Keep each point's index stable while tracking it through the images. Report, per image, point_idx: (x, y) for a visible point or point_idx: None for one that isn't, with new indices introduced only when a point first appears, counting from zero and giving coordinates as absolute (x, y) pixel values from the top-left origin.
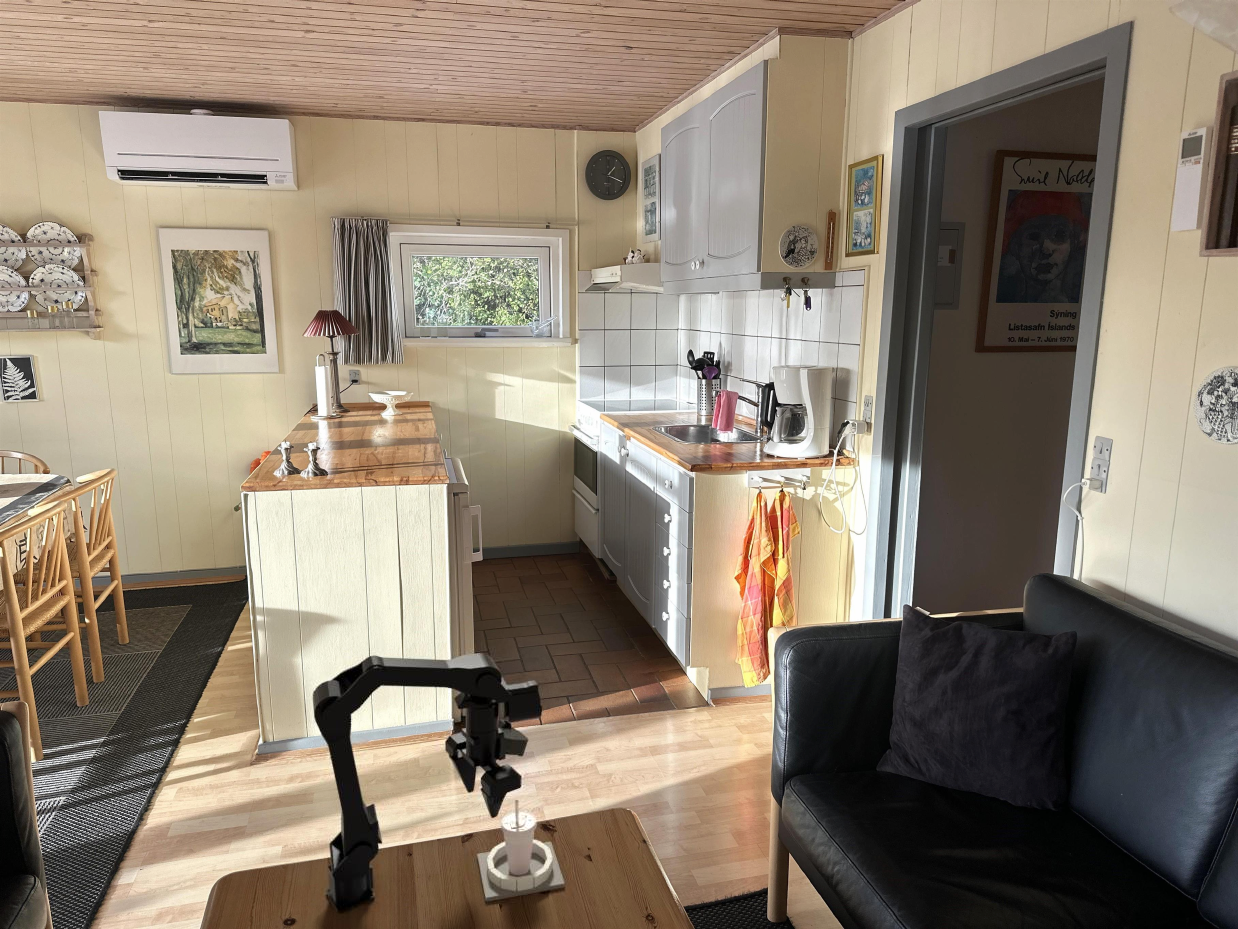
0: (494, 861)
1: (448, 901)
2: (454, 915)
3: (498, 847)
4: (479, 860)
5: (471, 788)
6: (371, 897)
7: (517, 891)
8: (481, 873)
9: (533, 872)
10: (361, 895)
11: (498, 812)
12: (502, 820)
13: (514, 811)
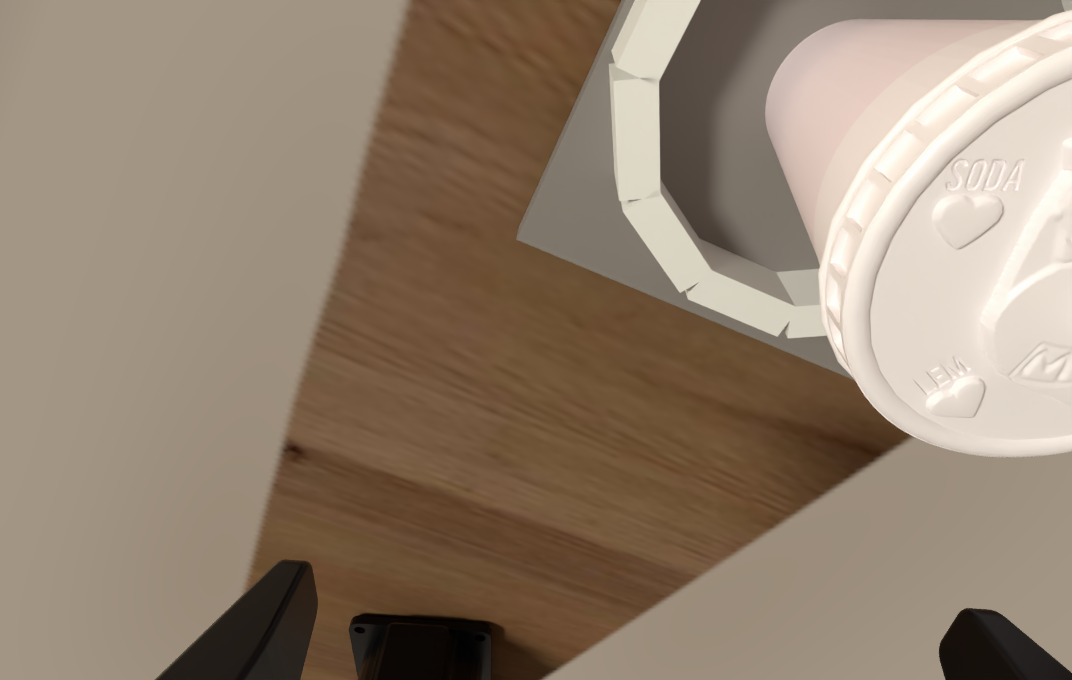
0: (686, 222)
1: (704, 472)
2: (796, 491)
3: (642, 174)
4: (580, 260)
5: (297, 629)
6: (489, 641)
7: None
8: (689, 309)
9: None
10: (476, 676)
11: (1057, 665)
12: (894, 411)
13: (897, 211)
